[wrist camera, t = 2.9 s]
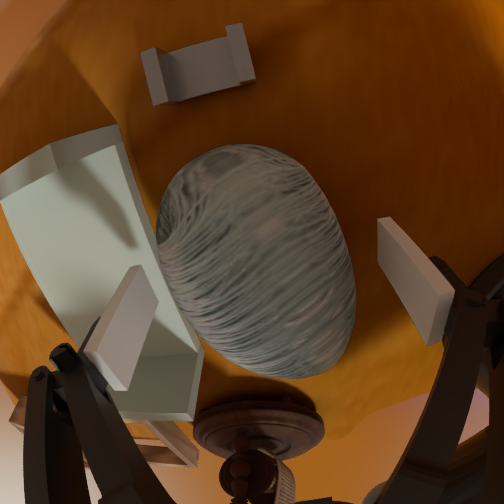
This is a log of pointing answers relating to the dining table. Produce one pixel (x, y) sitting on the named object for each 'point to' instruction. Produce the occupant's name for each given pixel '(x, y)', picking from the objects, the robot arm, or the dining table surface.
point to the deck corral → (168, 445)
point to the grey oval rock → (258, 261)
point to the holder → (101, 260)
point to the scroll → (258, 446)
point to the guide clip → (199, 68)
